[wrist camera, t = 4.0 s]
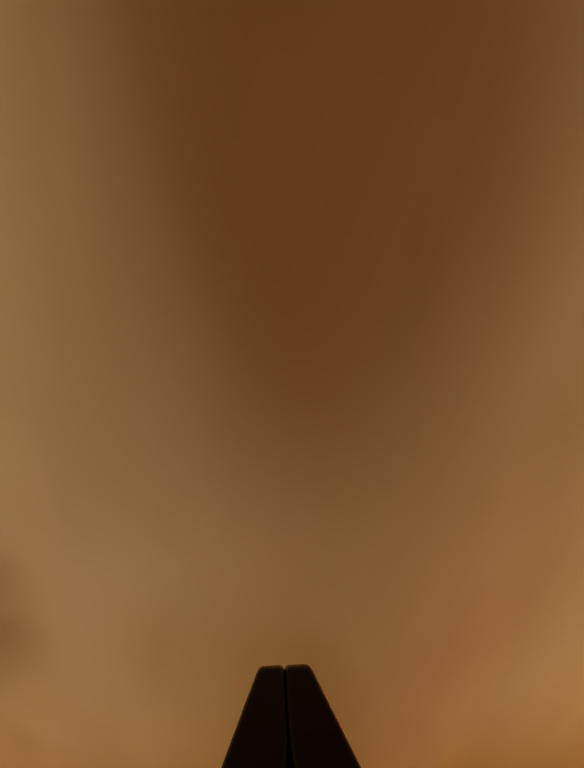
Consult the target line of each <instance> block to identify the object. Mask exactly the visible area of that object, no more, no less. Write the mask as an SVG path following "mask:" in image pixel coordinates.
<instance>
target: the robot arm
mask: <svg viewBox="0 0 584 768" xmlns="http://www.w3.org/2000/svg"><path fill="white" fill-rule="evenodd" d="M221 768H361V767H360V765H359V763H358V761H357V759H356V757H355V755H354V753H353V751H352V749H351V747H350V745H349V743H348V741H347V739H346V737H345V735H344V733H343V731H342V729H341V727H340V725H339V723H338V721H337V719H336V717H335V715H334V713H333V711H332V709H331V707H330V705H329V703H328V701H327V699H326V697H325V695H324V693H323V691H322V689H321V687H320V685H319V683H318V681H317V679H316V677H315V675H314V673H313V671H312V669H311V668H310V666H308V665H307V664H300V665H287V666H286V667H285V670H284V668H283V667H282V666H280V665H277V666H262V667H260V668H259V669H258V671H257V674H256V676H255V679H254V682H253V684H252V687H251V690H250V692H249V695H248V698H247V700H246V703H245V706H244V708H243V711H242V714H241V716H240V719H239V722H238V724H237V727H236V730H235V732H234V735H233V738H232V740H231V743H230V746H229V748H228V751H227V754H226V756H225V759H224V762H223V764H222V767H221Z"/></svg>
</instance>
